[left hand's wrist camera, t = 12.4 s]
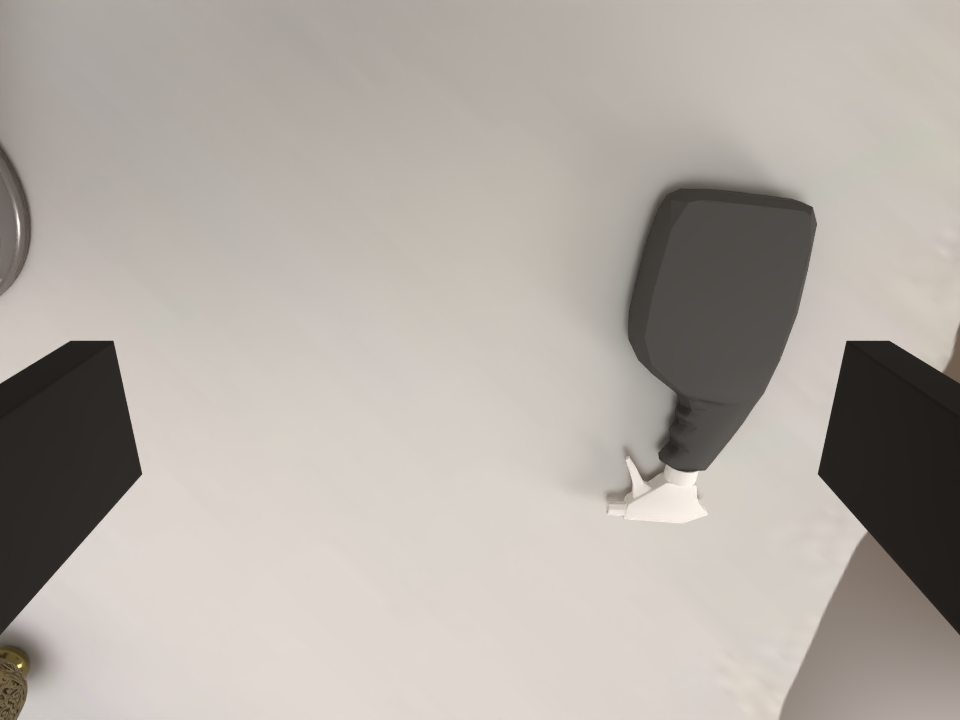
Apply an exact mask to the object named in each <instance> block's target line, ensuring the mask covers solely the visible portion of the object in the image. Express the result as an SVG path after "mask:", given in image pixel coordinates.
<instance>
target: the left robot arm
mask: <svg viewBox="0 0 960 720" xmlns="http://www.w3.org/2000/svg"><path fill="white" fill-rule="evenodd" d="M29 233H30V229H29V215H28V209H27V204H26V200H25V196H24V193H23V190H22V187H21V184H20V182H19V180H18V177H17V175H16V173H15V171H14V169H13V167H12V165H11V163H10V162H9V160H8V158H7V157H6V155H5V154H4V152H3V151H2V149H1V148H0V295H1V294H3V293H4V292H5V291H6V290H7V289H8V288H9V287H10V285H11V284H12V283H13V282H14V280H15V279H16V277H17V276H18V274H19V272H20V270H21V268H22V266H23V264H24V261H25V258H26V254H27V250H28V245H29ZM141 475H142V471H141V466H140V462H139V457H138V453H137V448H136V443H135V439H134V434H133V429H132V425H131V420H130V415H129V411H128V406H127V401H126V397H125V392H124V388H123V383H122V378H121V374H120V369H119V364H118V360H117V355H116V350H115V346H114V341H70V342H68V343H66V344H65V345H63V346H61V347H60V348H58V349H56V350H55V351H53V352H52V353H50V354H48V355H47V356H45V357H43V358H42V359H40V360H38V361H37V362H35V363H33V364H32V365H30V366H29V367H27V368H25V369H24V370H22V371H20V372H19V373H17V374H15V375H14V376H12V377H10V378H9V379H7V380H6V381H4V382H2V383H1V384H0V635H1V633H2V632H3V631H4V630H5V629H6V628H7V627H8V626H9V624H10V623H11V622H12V621H13V620H14V619H15V618H16V616H17V615H18V614H19V613H20V612H21V611H22V610H23V609H24V607H25V606H26V605H27V604H28V603H29V602H30V601H31V599H32V598H33V597H34V596H35V595H36V594H37V593H38V592H39V590H40V589H41V588H42V587H43V586H44V585H45V584H46V583H47V581H48V580H49V579H50V578H51V577H52V576H53V575H54V573H55V572H56V571H57V570H58V569H59V568H60V567H61V566H62V564H63V563H64V562H65V561H66V560H67V559H68V558H69V556H70V555H71V554H72V553H73V552H74V551H75V550H76V549H77V547H78V546H79V545H80V544H81V543H82V542H83V541H84V539H85V538H86V537H87V536H88V535H89V534H90V533H91V532H92V530H93V529H94V528H95V527H96V526H97V525H98V524H99V522H100V521H101V520H102V519H103V518H104V517H105V516H106V515H107V513H108V512H109V511H110V510H111V509H112V508H113V507H114V505H115V504H116V503H117V502H118V501H119V500H120V499H121V498H122V496H123V495H124V494H125V493H126V492H127V491H128V490H129V488H130V487H131V486H132V485H133V484H134V483H135V482H136V481H137V479H138V478H139V477H140V476H141ZM818 475H819V476H820V477H821V478H822V479H823V481H824V482H825V483H826V484H827V485H828V486H829V487H830V488H831V490H832V491H833V492H834V493H835V494H836V495H837V496H838V498H839V499H840V500H841V501H842V502H843V503H844V504H845V505H846V507H847V508H848V509H849V510H850V511H851V512H852V513H853V515H854V516H855V517H856V518H857V519H858V520H859V521H860V522H861V524H862V525H863V526H864V527H865V528H866V529H867V530H868V532H869V533H870V534H871V535H872V536H873V537H874V538H875V539H876V541H877V542H878V543H879V544H880V545H881V546H882V547H883V549H884V550H885V551H886V552H887V553H888V554H889V555H890V556H891V558H892V559H893V560H894V561H895V562H896V563H897V564H898V566H899V567H900V568H901V569H902V570H903V571H904V572H905V573H906V575H907V576H908V577H909V578H910V579H911V580H912V581H913V583H914V584H915V585H916V586H917V587H918V588H919V589H920V590H921V592H922V593H923V594H924V595H925V596H926V597H927V598H928V599H929V601H930V602H931V603H932V604H933V605H934V606H935V607H936V608H937V610H938V611H939V612H940V613H941V614H942V615H943V616H944V618H945V619H946V620H947V621H948V622H949V623H950V624H951V626H952V627H953V628H954V629H955V630H956V631H957V632H958V633H959V635H960V384H959V383H958V382H956V381H954V380H953V379H951V378H949V377H948V376H946V375H945V374H943V373H941V372H940V371H938V370H936V369H935V368H933V367H931V366H930V365H928V364H927V363H925V362H923V361H922V360H920V359H918V358H917V357H915V356H913V355H912V354H910V353H908V352H907V351H905V350H904V349H902V348H900V347H899V346H897V345H895V344H894V343H892V342H890V341H846V346H845V350H844V355H843V360H842V364H841V369H840V374H839V378H838V383H837V388H836V392H835V397H834V401H833V406H832V411H831V415H830V420H829V425H828V429H827V434H826V439H825V443H824V448H823V453H822V457H821V462H820V466H819V471H818Z"/></svg>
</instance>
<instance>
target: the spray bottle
mask: <svg viewBox="0 0 960 720" xmlns="http://www.w3.org/2000/svg"><path fill="white" fill-rule="evenodd" d="M816 226H817V222H816V218H815V214H814V210H813V207H811V206H809V205H807V204H805V203H802V202H800V201H797V200H793V199H788V198H780V197H771V196H763V195H755V194H747V193H739V192H730V191H722V190H703V189H680V190H677V191H675V192H673V193H670V194H669V195H668V196H667V197H666V198H665V200H664V201H663V203H662V204H661V206H660V207H659V209H658V212H657V215H656V218H655V220H654V223H653V226H652V229H651V232H650V235H649V237H648V240H647V243H646V246H645V250H644V254H643V258H642V262H641V266H640V270H639V274H638V278H637V282H636V286H635V290H634V294H633V298H632V303H631V307H630V314H629V325H628V336H629V341H630V343H631V345H632V347H633V350H634V352H635V354H636V356H637V358H638V360H639V361H640V362H641V363H642V364H643V365H644V366H645V367H646V368H647V369H648V370H649V371H650V372H651V373H652V374H653V375H654V376H656V377H657V378H658V379H659V380H661V381H662V382H663V383H665V384H666V385H667V386H668V387H670V388H671V389H672V390H674V391H675V392H676V393H677V395H678V398H679V400H680V402H679V404H678V406H677V407H676V409H675V412H676V417H677V419H676V420H675V421H674V423H673V424H672V426H671V427H670V429H669V430H670V437H671V441H670V442H669V443H668V444H667V445H666V446H665V447H664V448H663V449H662V450H661V451H660V452H659V459H660V460H661V461H662V462H664V463H665V464H666V466H665V470H664V473H660V474H658V475H657V476H656V477H654V478H653V479H651V480H650V481H648V482H646V481H644V480H643V479H642V477H641V475H640V474H639V472H638V470H637V468H636V466H635V464H634V463H633V461H632V460H631V459H630V457H629V456H626V457H625V459H626V463H627V466H628V469H629V472H630V476H631V479H632V492H630V493H628V494H627V495H626V496H625V498H624V501H608V502H607V504H606V512H607V515H618V516H623V518H624V519H631V520H645V521H658V522H672V523H685V522H688V521H691V520H694V519H697V518H700V517H703V516H706V515H707V511H706V509H705V507H704V505H703V504H702V503H701V502H700V501H699V500H698V499H697V486H696V484H695V481H696V478H697V474H698V471H702V470H706V469H707V468H708V467H709V465H710V464H711V463H712V462H713V461H714V459H715V458H716V457H717V456H718V454H719V453H720V452H721V451H722V449H723V448H724V447H725V446H726V444H727V443H728V442H729V441H730V439H731V438H732V437H733V436H734V434H735V433H736V432H737V430H738V429H739V428H740V426H741V425H742V424H743V423H744V421H745V419H746V418H747V416H748V415H749V413H750V412H751V410H752V409H753V407H754V406H755V404H756V403H757V402H758V400H759V399H760V398H761V396H762V395H763V394H764V392H765V390H766V388H767V386H768V384H769V382H770V379H771V377H772V375H773V373H774V371H775V369H776V367H777V365H778V363H779V361H780V359H781V356H782V354H783V351H784V348H785V346H786V343H787V340H788V337H789V335H790V332H791V329H792V327H793V324H794V321H795V319H796V316H797V313H798V309H799V305H800V301H801V296H802V292H803V288H804V284H805V279H806V275H807V271H808V266H809V261H810V256H811V251H812V246H813V241H814V236H815V231H816Z"/></svg>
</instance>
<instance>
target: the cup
mask: <svg viewBox="0 0 960 720" xmlns="http://www.w3.org/2000/svg"><path fill="white" fill-rule="evenodd" d="M29 668H30V662H29V659H28V657H27V656H26V655H25V654H24V653H23V652H22V651H21V650H19V649H17V648H14V647H9V646H2V647H0V720H17V718H18V716H19V714H20V712H21V710H22V708H23V706H24V703H25V700H26V696H27V682H26V679H25V678H26V676H27V675H28V672H29Z"/></svg>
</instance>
